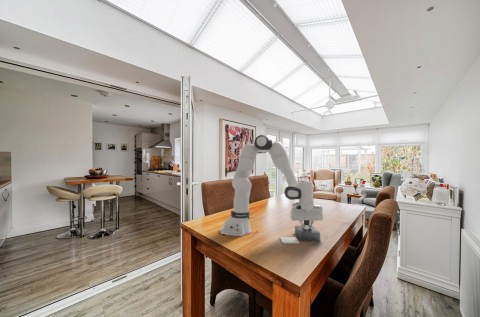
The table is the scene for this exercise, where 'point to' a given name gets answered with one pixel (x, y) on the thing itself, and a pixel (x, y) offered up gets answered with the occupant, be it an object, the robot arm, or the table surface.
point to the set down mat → (289, 240)
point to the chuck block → (307, 234)
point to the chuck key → (306, 225)
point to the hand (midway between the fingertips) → (306, 226)
